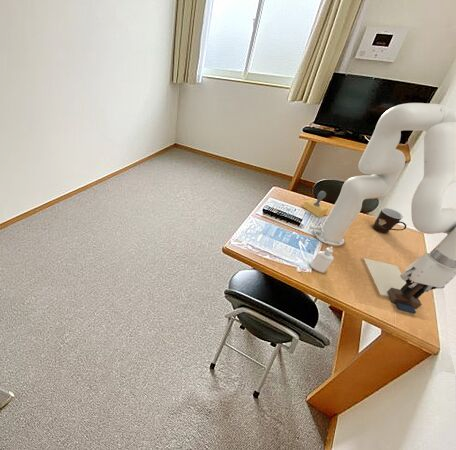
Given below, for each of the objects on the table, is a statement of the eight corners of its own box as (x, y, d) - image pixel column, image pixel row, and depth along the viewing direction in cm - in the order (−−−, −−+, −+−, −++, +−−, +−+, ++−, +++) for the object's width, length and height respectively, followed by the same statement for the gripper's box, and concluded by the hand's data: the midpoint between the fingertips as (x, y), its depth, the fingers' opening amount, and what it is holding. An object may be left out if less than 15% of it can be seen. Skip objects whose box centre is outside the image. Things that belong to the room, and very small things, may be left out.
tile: (379, 296, 101) (380, 294, 101) (362, 259, 117) (363, 258, 116) (418, 305, 99) (420, 304, 98) (395, 267, 114) (397, 265, 114)
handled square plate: (391, 302, 98) (409, 285, 92) (386, 291, 101) (403, 274, 95) (416, 309, 96) (436, 292, 90) (410, 297, 100) (429, 280, 94)
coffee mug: (366, 223, 139) (377, 207, 133) (382, 224, 139) (395, 208, 133) (380, 238, 130) (393, 221, 124) (397, 239, 130) (411, 223, 124)
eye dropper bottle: (319, 274, 107) (333, 253, 100) (308, 264, 111) (321, 243, 104) (327, 272, 109) (342, 250, 101) (315, 262, 113) (329, 241, 105)
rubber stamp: (302, 206, 147) (311, 187, 139) (309, 204, 149) (319, 185, 142) (318, 217, 140) (329, 197, 132) (325, 214, 142) (336, 195, 135)
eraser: (396, 311, 96) (400, 308, 95) (393, 305, 98) (397, 302, 97) (412, 315, 95) (416, 312, 94) (409, 309, 97) (413, 306, 96)
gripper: (469, 255, 87) (428, 292, 98) (412, 243, 89) (379, 280, 101) (484, 272, 81) (439, 309, 92) (423, 259, 83) (387, 296, 95)
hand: (408, 293), depth 96 cm, fingers closed on handled square plate, 2 cm apart
